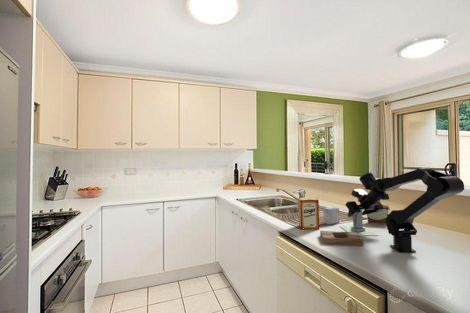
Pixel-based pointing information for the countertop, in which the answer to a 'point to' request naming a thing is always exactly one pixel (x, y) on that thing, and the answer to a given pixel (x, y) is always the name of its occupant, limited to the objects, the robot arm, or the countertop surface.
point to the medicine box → (331, 215)
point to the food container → (378, 216)
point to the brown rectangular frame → (341, 238)
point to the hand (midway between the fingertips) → (355, 215)
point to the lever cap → (358, 223)
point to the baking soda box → (308, 213)
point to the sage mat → (364, 233)
